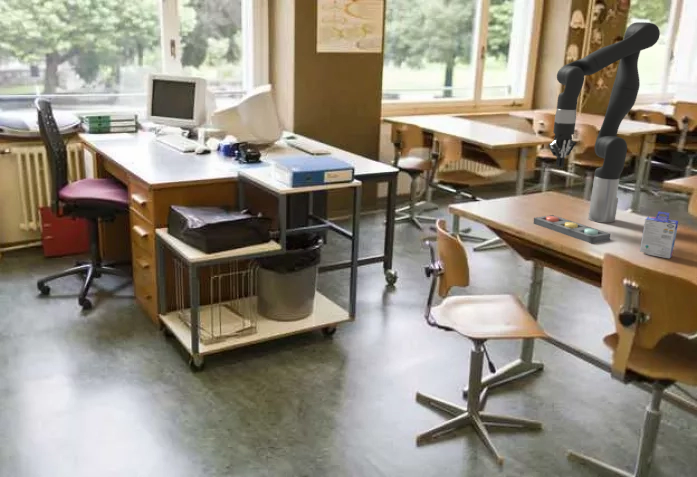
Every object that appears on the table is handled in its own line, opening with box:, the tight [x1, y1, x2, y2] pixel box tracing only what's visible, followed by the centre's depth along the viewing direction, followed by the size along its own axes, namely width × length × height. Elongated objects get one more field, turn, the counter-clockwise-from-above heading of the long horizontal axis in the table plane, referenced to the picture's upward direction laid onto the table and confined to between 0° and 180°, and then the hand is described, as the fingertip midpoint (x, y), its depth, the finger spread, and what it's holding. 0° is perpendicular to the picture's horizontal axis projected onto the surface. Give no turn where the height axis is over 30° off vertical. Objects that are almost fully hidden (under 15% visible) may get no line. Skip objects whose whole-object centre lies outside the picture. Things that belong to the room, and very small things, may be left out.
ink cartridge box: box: [639, 211, 679, 259], centre depth 230 cm, size 10×6×14 cm, turn 58°
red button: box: [546, 215, 559, 222], centre depth 259 cm, size 5×5×2 cm
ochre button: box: [565, 221, 578, 229], centre depth 252 cm, size 5×5×2 cm
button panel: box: [533, 214, 612, 244], centre depth 252 cm, size 27×10×3 cm, turn 32°
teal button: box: [584, 228, 599, 235], centre depth 245 cm, size 5×5×2 cm
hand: (559, 167), depth 261 cm, fingers closed
